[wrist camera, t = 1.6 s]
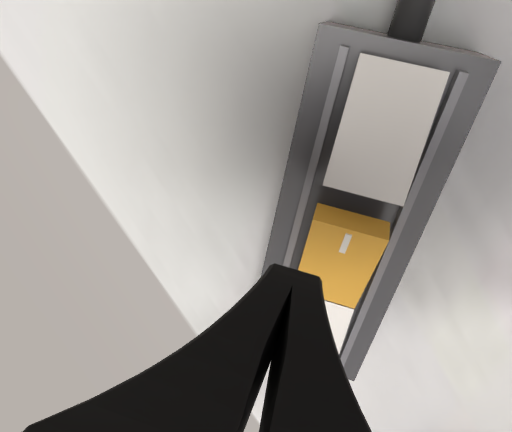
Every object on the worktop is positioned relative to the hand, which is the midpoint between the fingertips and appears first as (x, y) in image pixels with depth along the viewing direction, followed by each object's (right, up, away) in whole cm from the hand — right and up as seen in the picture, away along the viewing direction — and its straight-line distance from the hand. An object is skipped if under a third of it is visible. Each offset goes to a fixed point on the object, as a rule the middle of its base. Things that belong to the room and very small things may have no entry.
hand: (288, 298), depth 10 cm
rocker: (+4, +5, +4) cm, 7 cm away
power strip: (+4, +5, +8) cm, 10 cm away
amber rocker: (+3, +1, +6) cm, 7 cm away
